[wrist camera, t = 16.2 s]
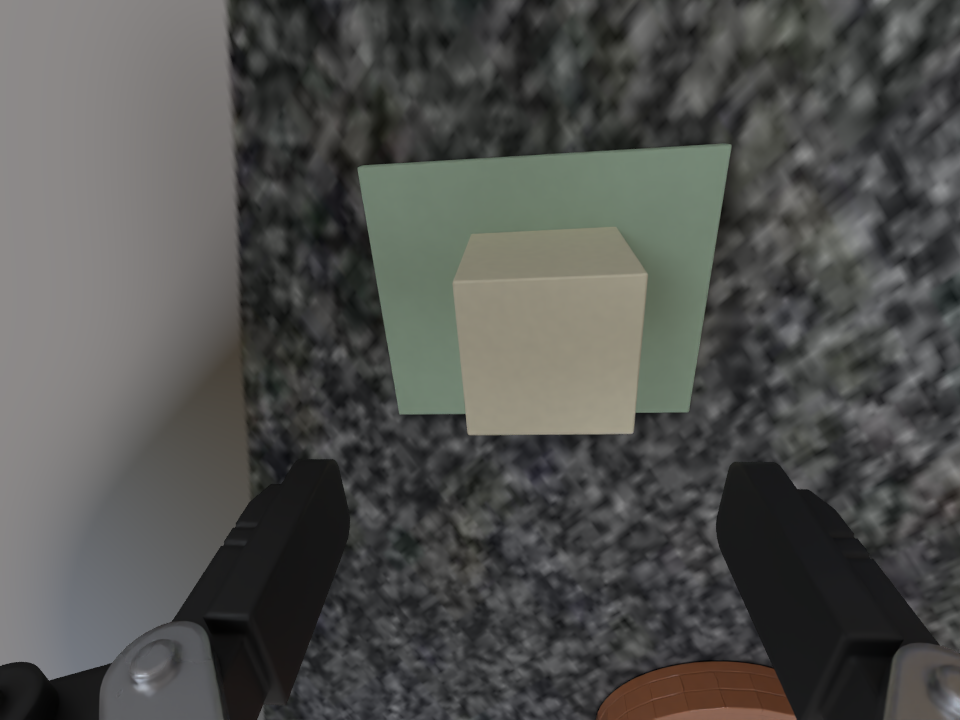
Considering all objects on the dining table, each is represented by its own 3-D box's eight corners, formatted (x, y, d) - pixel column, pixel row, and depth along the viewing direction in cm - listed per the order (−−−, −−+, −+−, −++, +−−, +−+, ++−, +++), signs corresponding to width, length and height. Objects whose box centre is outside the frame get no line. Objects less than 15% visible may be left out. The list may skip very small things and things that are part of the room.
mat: (401, 408, 22) (399, 414, 21) (361, 165, 17) (356, 167, 17) (685, 405, 20) (689, 412, 20) (726, 143, 16) (732, 144, 15)
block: (480, 359, 20) (467, 436, 15) (470, 233, 17) (451, 281, 13) (609, 356, 19) (633, 435, 15) (616, 225, 17) (649, 273, 12)
